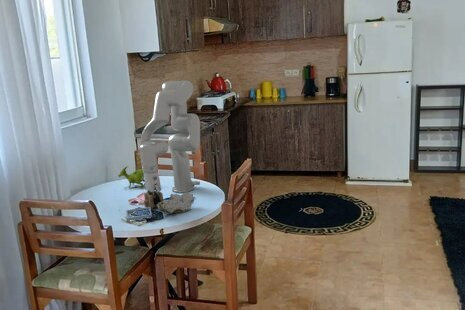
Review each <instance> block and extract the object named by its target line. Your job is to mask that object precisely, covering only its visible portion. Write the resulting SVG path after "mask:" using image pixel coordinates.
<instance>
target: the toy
mask: <svg viewBox="0 0 465 310" xmlns="http://www.w3.org/2000/svg"><path fill="white" fill-rule="evenodd" d="M127 168H129V166H125V167H124V168H122V169H121V170H120V172H119V174H118V175H117V177H118V178H121V177H125V178H126V179H127V181H128V183H129V186H128V188H129V189H130V188H131V185H132V186H133V185H134V184H136V185H140V189H142V188H143V187H145V180H144V173H143V170H142V168H140V169H138V170H137V169H136V170H135V171H133V172H132V173H130V174H128V173H127V171H126V170H127ZM143 182H144V184H143Z"/></svg>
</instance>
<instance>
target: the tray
mask: <svg viewBox="0 0 465 310" xmlns="http://www.w3.org/2000/svg"><path fill="white" fill-rule="evenodd" d="M143 209H146V210H149V211H150V214H149V215H142V216H135V217H128V216H130V215H131V214H132V213H133V212H134V211H138V210H143ZM152 215H153V214H152V208H150V207H145V206H144V207H139V208H138V207H137V208H133V209H132V208H131V209H126V210H125V216H126V217H125V218H126V223H130V222H129V221H130V220H134V219H141V218H145V217H148V216H152ZM152 217H153V216H152Z"/></svg>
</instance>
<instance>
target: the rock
mask: <svg viewBox="0 0 465 310" xmlns="http://www.w3.org/2000/svg"><path fill="white" fill-rule="evenodd" d="M194 201H195V196H194V195H193V193H191V192H182V194H178V193H175V194H174V193H171V194H170V195H169V199H168V200H167V199H164V198H163V201H162V202H159V203H158V204H157V209H158V210H159V211H160V212H161V214H168V215H172V214H174V213H176V214H179V213H181V214H184V213H185V212H188V211H189V210H190V209H192V204H193V203H194Z"/></svg>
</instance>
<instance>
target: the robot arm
mask: <svg viewBox="0 0 465 310" xmlns="http://www.w3.org/2000/svg"><path fill="white" fill-rule="evenodd" d="M161 89H162V90H160V91H158V92H157V93H156V95H155V99H154V100H155V101H154V108H153V113H152V119H151V120H150V121H149V122H148V124H146V126H145V127H144V129H143V130H142V132H141V136H140V143H139V154H140V161H141V169H142V170H143V173H144V180H145V182H144V183H145V185H144V187H145V189H146V193H147V192H153V196H154V198H153V200H154V205H157V204H158V203H159V202H160V192H161V191H162V186H161V181H160V175H159V172H158V171H159V168H158V167H159V166H158V157H161V156H163V155H165V154H166V153H168V150H169V151H170V156H171V164H172V172H173V173H172V174H173V182H174V184H173V185H174V186H173V187H172V188H171V191H172V192H174V193H177V194H178V193H190V192H191V191H193V190H195V186H198V185H201V182H200V181H199V180H198V181H197V180H194V181H193V180H192V176H191V174H192V173H191V163H190V156H189V155H188V153H187V152H196V151H198V150H199V149H200V145H201V121H200V118H199V116H198V115H197V114H196V113H188V110H187V109H188V108H187V101H188V100H189V99H190V98H191V96H193V95H192V94H193V93H194V86H193V83H192V82H191V81H189V80H169V81H165V82H163V84H162V86H161ZM169 122H170V123H171V124H170V125H171V129H172V131H175V132H176V131H177V132H188V133H173V134H171V135H170V136H169V137H168V141H166V140H161V139H160V140H159V139H158V140H157V139H151V138H152V136H153V134H154V133H155V132H156V131H157V130H158V129H160V128H162V127H165V126H166V125H167V124H169ZM155 190H156V191H155ZM155 193H156V194H155Z"/></svg>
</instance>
